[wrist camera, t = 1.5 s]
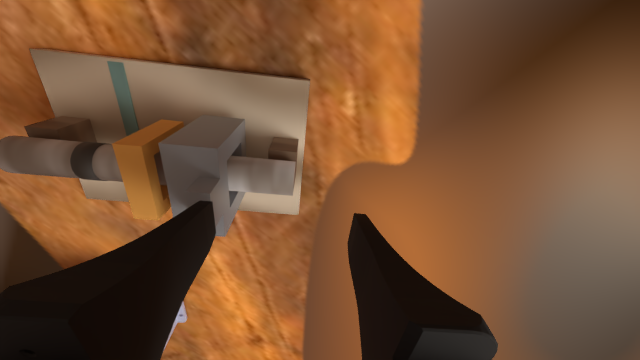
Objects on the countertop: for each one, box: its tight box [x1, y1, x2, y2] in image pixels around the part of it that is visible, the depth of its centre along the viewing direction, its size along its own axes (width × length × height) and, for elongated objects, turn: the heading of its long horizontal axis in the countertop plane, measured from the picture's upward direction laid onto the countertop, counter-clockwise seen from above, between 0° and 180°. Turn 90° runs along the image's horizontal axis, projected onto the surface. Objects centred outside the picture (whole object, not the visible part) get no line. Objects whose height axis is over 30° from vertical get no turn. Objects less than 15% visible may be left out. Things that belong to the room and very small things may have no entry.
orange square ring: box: [112, 119, 184, 220], centre depth 17 cm, size 5×2×5 cm, turn 173°
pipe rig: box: [0, 49, 310, 215], centre depth 19 cm, size 12×19×6 cm, turn 84°
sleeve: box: [158, 115, 246, 237], centre depth 16 cm, size 6×3×8 cm, turn 174°
